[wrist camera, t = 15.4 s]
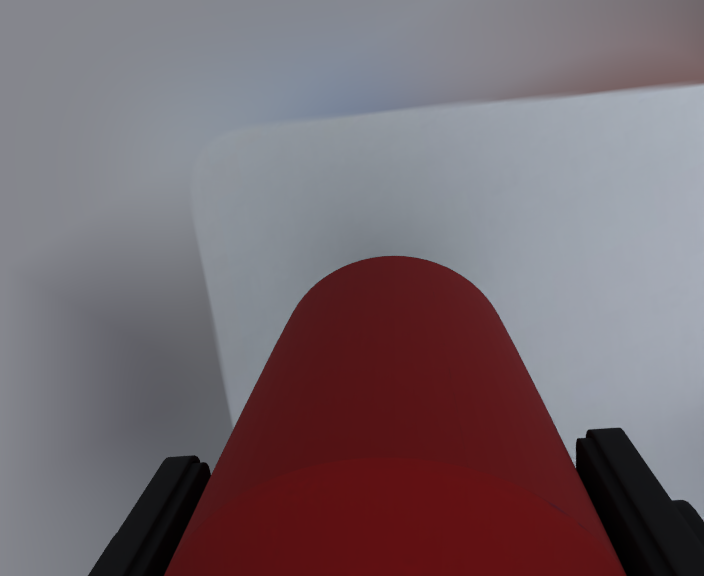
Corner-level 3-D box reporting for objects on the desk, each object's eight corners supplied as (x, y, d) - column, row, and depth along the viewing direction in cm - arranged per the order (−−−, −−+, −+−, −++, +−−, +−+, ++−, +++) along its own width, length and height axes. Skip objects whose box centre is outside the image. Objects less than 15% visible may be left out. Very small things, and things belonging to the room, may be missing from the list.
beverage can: (265, 420, 19) (61, 921, 7) (311, 221, 16) (124, 487, 5) (466, 471, 19) (579, 1049, 7) (538, 280, 17) (855, 672, 5)
